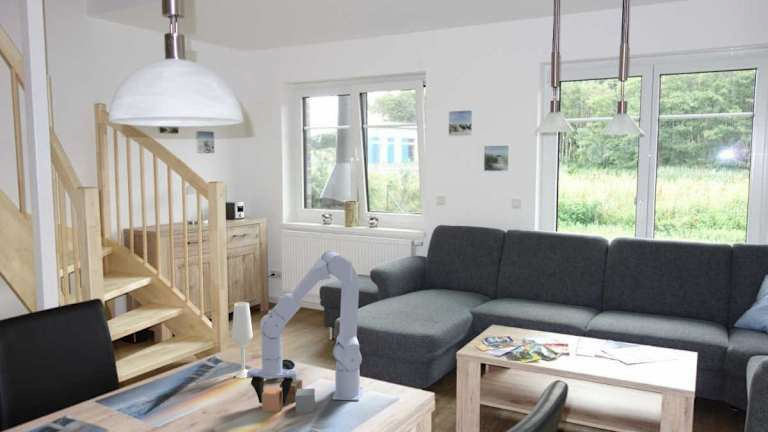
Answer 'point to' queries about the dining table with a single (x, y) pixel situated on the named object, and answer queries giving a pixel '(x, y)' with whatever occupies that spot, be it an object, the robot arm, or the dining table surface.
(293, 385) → the walnut block
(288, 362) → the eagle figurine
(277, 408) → the terracotta block
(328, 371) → the dining table surface
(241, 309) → the champagne flute
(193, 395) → the dining table surface
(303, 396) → the slate grey block
